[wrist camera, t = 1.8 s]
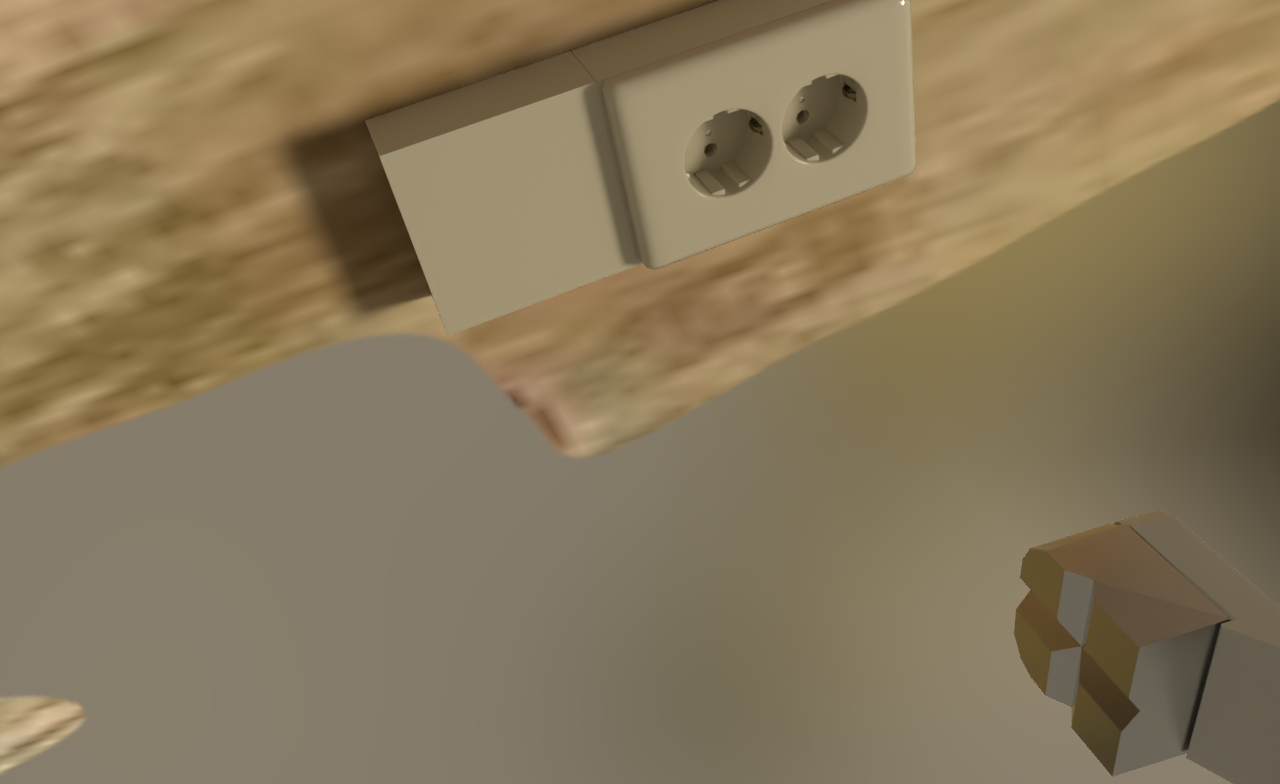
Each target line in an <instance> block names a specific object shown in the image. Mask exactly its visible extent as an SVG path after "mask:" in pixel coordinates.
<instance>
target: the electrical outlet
mask: <svg viewBox="0 0 1280 784" xmlns="http://www.w3.org/2000/svg"><path fill="white" fill-rule="evenodd" d="M365 122H366V125H367V128H368V130H369V133H370V135H371V138H372V141H373V143H374V146H375V148H376V151H377V154H378V156H379V159H380V161H381V164H382V167H383V169H384V172H385V175H386V177H387V180H388V182H389V185H390V188H391V190H392V193H393V195H394V198H395V201H396V203H397V206H398V209H399V211H400V214H401V216H402V219H403V222H404V224H405V227H406V229H407V232H408V235H409V237H410V240H411V242H412V245H413V248H414V250H415V253H416V256H417V258H418V261H419V263H420V266H421V269H422V271H423V274H424V276H425V279H426V282H427V284H428V287H429V290H430V292H431V295H432V297H433V300H434V302H435V305H436V307H437V310H438V312H439V315H440V317H441V320H442V322H443V325H444V327H445V330H446V332H447V335H448V336H449V335H451V334H454V333H457V332H460V331H462V330H465V329H468V328H470V327H473V326H476V325H478V324H481V323H484V322H486V321H489V320H492V319H495V318H497V317H500V316H503V315H505V314H508V313H511V312H513V311H516V310H519V309H521V308H524V307H527V306H530V305H532V304H535V303H538V302H540V301H543V300H546V299H548V298H551V297H554V296H556V295H559V294H562V293H565V292H567V291H570V290H573V289H575V288H578V287H581V286H583V285H586V284H589V283H591V282H594V281H597V280H600V279H602V278H605V277H608V276H610V275H613V274H616V273H618V272H621V271H624V270H626V269H629V268H632V267H635V266H637V265H638V264H639V265H640V264H644V265H645V266H646V267H647V268H650V269H659V268H661V267H664V266H667V265H669V264H672V263H675V262H677V261H680V260H683V259H685V258H688V257H691V256H693V255H696V254H699V253H701V252H704V251H707V250H709V249H712V248H715V247H718V246H720V245H723V244H726V243H728V242H731V241H734V240H736V239H739V238H742V237H744V236H747V235H750V234H752V233H755V232H758V231H760V230H763V229H766V228H768V227H771V226H774V225H776V224H779V223H782V222H785V221H787V220H790V219H793V218H795V217H798V216H801V215H803V214H806V213H809V212H811V211H814V210H817V209H819V208H822V207H825V206H827V205H830V204H833V203H835V202H838V201H841V200H844V199H846V198H849V197H852V196H854V195H857V194H860V193H862V192H865V191H868V190H870V189H873V188H876V187H878V186H881V185H884V184H886V183H889V182H892V181H894V180H897V179H900V178H902V177H905V176H908V175H910V174H911V173H912V172H913V171H914V170H915V168H916V140H915V110H914V80H913V49H912V19H911V0H718V1H715V2H713V3H710V4H707V5H704V6H701V7H698V8H695V9H692V10H689V11H686V12H683V13H680V14H677V15H674V16H671V17H668V18H665V19H662V20H659V21H657V22H654V23H651V24H648V25H645V26H642V27H639V28H636V29H633V30H630V31H627V32H624V33H621V34H618V35H615V36H612V37H609V38H606V39H604V40H601V41H598V42H595V43H592V44H589V45H586V46H583V47H580V48H577V49H574V50H571V52H570V51H568V52H565V53H562V54H559V55H556V56H553V57H551V58H548V59H545V60H542V61H539V62H536V63H533V64H530V65H527V66H524V67H521V68H518V69H515V70H512V71H509V72H506V73H503V74H500V75H498V76H495V77H492V78H489V79H486V80H483V81H480V82H477V83H474V84H471V85H468V86H465V87H462V88H459V89H456V90H453V91H450V92H447V93H444V94H442V95H439V96H436V97H433V98H430V99H427V100H424V101H421V102H418V103H415V104H412V105H409V106H406V107H403V108H400V109H397V110H394V111H391V112H389V113H386V114H383V115H380V116H377V117H374V118H371V119H368V120H365Z"/></svg>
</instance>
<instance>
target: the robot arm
mask: <svg viewBox="0 0 1280 784" xmlns="http://www.w3.org/2000/svg"><path fill="white" fill-rule="evenodd" d="M1020 578H1021V579H1022V580H1023V581H1024V582H1025V584H1026V585H1027V586H1028V587H1029V588H1030V589H1031V590H1030V591H1029V593H1028V594H1027V595H1026V597H1025V598H1024V599H1023V601H1022V602H1021V604H1020V605H1019V606H1018V608H1017V609H1016V618H1015V630H1014V634H1015V638H1016V642H1017V646H1018V649H1019V653H1020V657H1021V660H1022V661H1023V663H1024V665H1025V667H1026V669H1027V671H1028V673H1029V674H1030V676H1031V678H1032V679H1033V680H1034V682H1035V683H1036V684H1037V685H1038V687H1039V688H1040V689H1041V690H1042V692H1043V693H1044V694H1045V695H1046V696H1048V697H1050V698H1053V699H1055V700H1057V701H1059V702H1062V703H1064V704H1066V705H1069V706H1071V707H1072V729H1073V730H1074V731H1075V732H1076V733H1077V735H1078V736H1079V737H1080V738H1081V739H1082V741H1083V742H1084V743H1085V744H1086V745H1087V747H1088V748H1089V749H1090V750H1091V751H1092V753H1093V754H1094V755H1095V756H1096V757H1097V759H1098V760H1099V761H1100V762H1101V763H1102V764H1103V766H1104V767H1105V768H1106V769H1107V770H1108V772H1109V773H1110V774H1111V775H1112V776H1115V775H1119V774H1122V773H1125V772H1128V771H1131V770H1134V769H1138V768H1141V767H1144V766H1147V765H1150V764H1153V763H1157V762H1160V761H1163V760H1166V759H1169V758H1173V757H1176V756H1179V755H1182V754H1185V753H1187V756H1186V758H1188V759H1190V760H1192V761H1193V762H1195V763H1197V764H1199V765H1201V766H1202V767H1204V768H1206V769H1208V770H1210V771H1212V772H1213V773H1215V774H1217V775H1219V776H1220V777H1222V778H1224V779H1226V780H1228V781H1230V782H1231V783H1233V784H1280V605H1279V606H1278V605H1276V604H1275V603H1274V602H1273V601H1272V600H1271V599H1269V598H1268V597H1267V596H1266V595H1265V594H1264V593H1262V592H1261V591H1260V590H1259V589H1258V588H1257V587H1256V586H1254V585H1253V584H1252V583H1251V582H1250V581H1249V580H1247V579H1246V578H1245V577H1244V576H1243V575H1242V574H1241V573H1239V572H1238V571H1237V570H1236V569H1235V568H1234V567H1232V566H1231V565H1230V564H1229V563H1228V562H1227V561H1225V560H1224V559H1223V558H1222V557H1221V556H1219V555H1218V554H1217V553H1216V552H1215V551H1214V550H1212V549H1211V548H1210V547H1209V546H1208V545H1207V544H1206V543H1204V542H1203V541H1202V540H1201V539H1200V538H1199V537H1198V536H1196V535H1195V534H1194V533H1193V532H1192V531H1191V530H1189V529H1188V528H1187V527H1186V526H1185V525H1184V524H1183V523H1181V522H1180V521H1179V520H1178V519H1177V518H1176V517H1174V516H1173V515H1171V514H1170V513H1167V512H1164V511H1161V510H1159V509H1157V510H1154V511H1151V512H1148V513H1145V514H1141V515H1138V516H1134V517H1131V518H1128V519H1124V520H1121V521H1118V522H1115V523H1114V524H1107V525H1104V526H1100V527H1097V528H1094V529H1091V530H1087V531H1084V532H1081V533H1078V534H1074V535H1071V536H1068V537H1065V538H1062V539H1059V540H1055V541H1052V542H1049V543H1046V544H1042V545H1039V546H1036V547H1033V548H1030V549H1029V551H1028V552H1027V554H1026V556H1025V557H1024V558H1023V562H1022V569H1021V575H1020Z"/></svg>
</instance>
